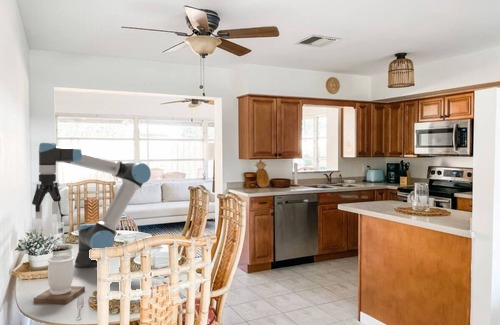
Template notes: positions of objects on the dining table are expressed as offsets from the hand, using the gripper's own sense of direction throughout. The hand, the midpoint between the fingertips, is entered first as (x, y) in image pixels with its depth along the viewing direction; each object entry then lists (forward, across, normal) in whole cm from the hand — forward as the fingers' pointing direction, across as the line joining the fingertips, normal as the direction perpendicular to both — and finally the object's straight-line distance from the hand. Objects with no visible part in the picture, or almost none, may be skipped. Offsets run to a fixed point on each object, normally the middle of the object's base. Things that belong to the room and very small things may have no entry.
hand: (47, 216), depth 187 cm
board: (+32, +21, +19) cm, 43 cm away
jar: (+30, +21, +19) cm, 41 cm away
